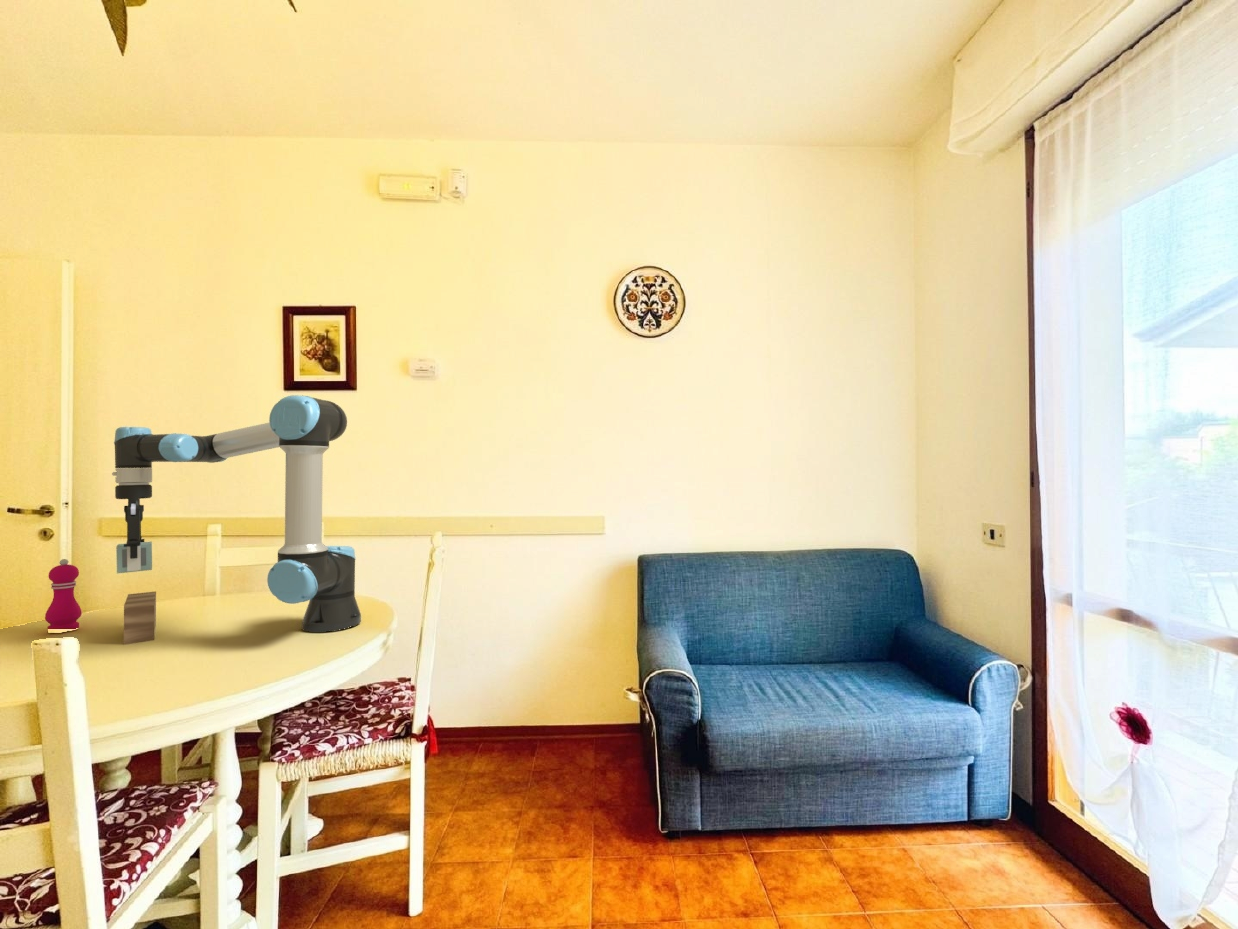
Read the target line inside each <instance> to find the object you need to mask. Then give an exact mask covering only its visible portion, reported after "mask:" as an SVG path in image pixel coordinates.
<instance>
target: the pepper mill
mask: <svg viewBox="0 0 1238 929" xmlns="http://www.w3.org/2000/svg"><path fill="white" fill-rule="evenodd" d="M79 575H80V571H79V568H78V567H77V566H75V565H73V564H69V560H68V559H66V558H62V559H61V560H59V565H57V566H53V567H52V568H51V569H50V570H49V572H48V580H50V581H51V582H52V583H51V584H50V586H51V587H50V589H51V590H53V598H52V601H51V602H50V604H49V606H48V608H47V610H46V612H45V614H44V615H45V616H44V619H45V620H44V621H45V622H46V623H48V624H49V625H48V626H47V628H46V629H76V628H79V629H80V622H79V621H78V620H79V618H80V617H81V616H82V608H81V606H80V604H79V603H78V602H77V599H76V597H75V592H74V591H75V587H77V580H76V579H77V578H78V577H79Z"/></svg>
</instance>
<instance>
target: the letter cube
mask: <svg viewBox="0 0 1238 929" xmlns="http://www.w3.org/2000/svg"><path fill="white" fill-rule="evenodd" d="M124 544H127V542H126V543H118V544H117V545H116V547H115V549H116V550H115V551H116V574H126V573H127V574H128V573H135V572H136V573H137V572H144V571H145V572H146V571H152V570H153V541H144V542H140V546H141V570H137V571H127V547H124Z"/></svg>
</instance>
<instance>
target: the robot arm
mask: <svg viewBox="0 0 1238 929" xmlns="http://www.w3.org/2000/svg"><path fill="white" fill-rule="evenodd" d="M269 413H270V414H269V418H268V419H269V420H268V421H269V422H264V423H261V424H256V425H252V426H246V427H243V428H238V429H232V430H227V431H223V432H219V433H214V434H210V435H205V436H204V435H203V436H201V435H190V434H187V433H163V434H162V433H161V434H154V433H153V434H152V429H151V428H149V427H142V426H141V427H140V426H138V427H137V426H120V427H117V428H116V429H115V433H114V434H115V435H114V441H113V444H114V465H115V466H114V468H115V470H114V471H113V472H112V473H111V475H112V477H113V476H115V479H114V480H115V482H114V483H115V484H118V485H116V486H115V488H114V490H115V492H114V495H115V496H114V498H115V499H117V500H127V505H124V506H123V512H124V514H125V516H124V520H125V523H126V531H127V532H126V536H127V537H126V539H127V540H126V543H127V544H126V543H123V544H124V547H127V571H137V570H141V546H140V542H145V538H143V536H142V521H143V519H144V513H143V512H144V510H145V509H144V508H145V506H144V504H141V499H151V498H152V497H153V486H152V485H151V484H150V483H153V463H160V462H161V463H209V464H214V463H221V462H225V461H226V460H227V459H228V458H233V457H234V458H235V457H237V456H238V457H239V456H242V455H247V454H253V453H257V452H262V451H266V450H272V449H276V448H280V449H281V450H282V451H283V452H284V453H285V474H284V476H285V481H284V484H285V485H284V486H285V487H284V488H285V490H284V493H285V494H284V495H285V496H284V501H285V502H284V505H285V506H284V544H283V546H282V547H280V548H278V550H277V562H276V563H275V564H274V565H273V566H272V567H271V568H270V569H269V570H268V574H267V578H266V579H267V580H266V581H267V586H268V589H269V591H270V593H271V594H272V595H273V596H275V598H276V599H277V600H278V601H280V602H282V603H286V604H293V605H294V604H299V603H305V602H308V604H307V607H306V611H305V613H304V615H303V618H302V621H301V622H302V623H301V624H302V625H301V626H302V628H303V629H304V630H303V629H302V630H303V631H304V632H308V631H309V633H327V632H326V631H332V632H335V631H334V630H339V629H344V628H348V627H350V626H354V627H356V626H355V625H357V624H359V623H360V622H361V623H362V614H361V610H360V608H359V606H358V605H359V604H358V603H357V599H356V597H355V596H356V595H355V594H356V593H355V591H356V590H355V587H356V585H355V584H356V583H355V582H356V560H357V559H356V554H355V553H356V551H355V549H354V548H353V547H352V546H349V545H347V546H346V545H334V546H333V545H327V546H326V545H325V544H324V543H323V541H322V538H323V537H322V536H323V532H322V531H323V472H324V471H323V468H324V467H323V466H324V465H323V464H324V462H323V461H324V460H323V458H324V453H325V452H326V451H328V450H329V449H330V442H333V441H335V440H337V439H338V438H340V437H342V435H343V434H344V432H345V431H346V430H347V426H348V418H347V414H346V412H345V411H344V410H343V408H342V407H341V406H339V405H338V404H336V403H335V402H333V401H330V400H324V399H320V398H316V397H312V396H310V395H309V396H308V395H298V394H297V395H293V394H292V395H287V396H285V397H284V396H283V397H282V398H281V399H279V400H278V402H276V403H275V404H274V406H273V407H272V409H271V410H270V412H269ZM137 572H138V571H137ZM361 623H360V624H361ZM360 624H359V625H360ZM357 626H358V625H357ZM348 629H349V628H348ZM344 630H345V629H344ZM339 631H340V630H339Z"/></svg>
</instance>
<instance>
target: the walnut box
mask: <svg viewBox="0 0 1238 929" xmlns="http://www.w3.org/2000/svg"><path fill="white" fill-rule="evenodd" d="M156 627H157V591H146V592H138V593H129V594H127V597H126V599H125V601H124V605H123V645H129V644H136V643H143V642H149V641H154V640H155V634H156Z"/></svg>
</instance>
